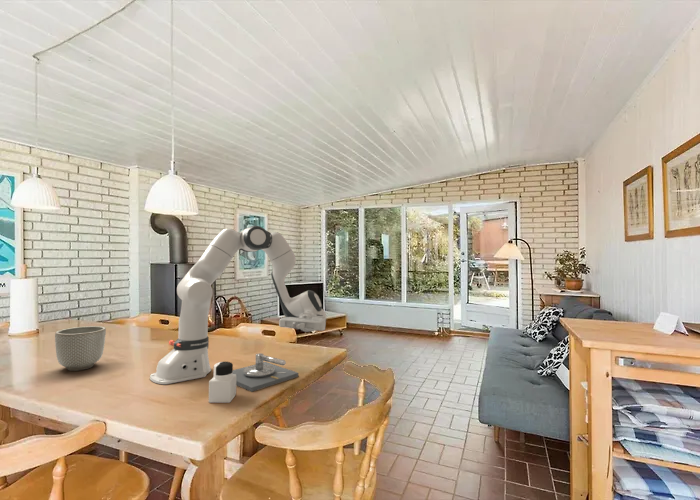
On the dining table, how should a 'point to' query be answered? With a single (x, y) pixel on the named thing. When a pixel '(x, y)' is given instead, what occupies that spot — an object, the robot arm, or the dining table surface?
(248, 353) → the dining table surface
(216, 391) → the medicine bottle
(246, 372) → the capstan dial
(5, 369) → the dining table surface
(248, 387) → the base plate
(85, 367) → the planter
